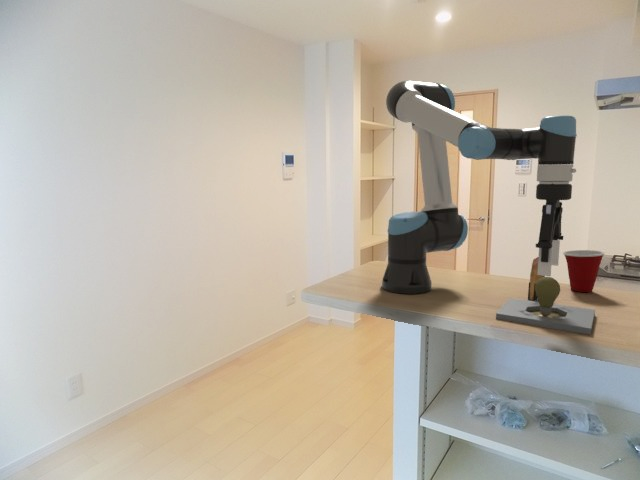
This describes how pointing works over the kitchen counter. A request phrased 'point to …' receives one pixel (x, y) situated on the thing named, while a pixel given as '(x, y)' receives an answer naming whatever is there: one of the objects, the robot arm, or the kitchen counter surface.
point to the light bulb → (547, 294)
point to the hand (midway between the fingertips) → (548, 270)
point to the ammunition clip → (533, 280)
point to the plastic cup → (583, 268)
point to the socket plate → (558, 319)
